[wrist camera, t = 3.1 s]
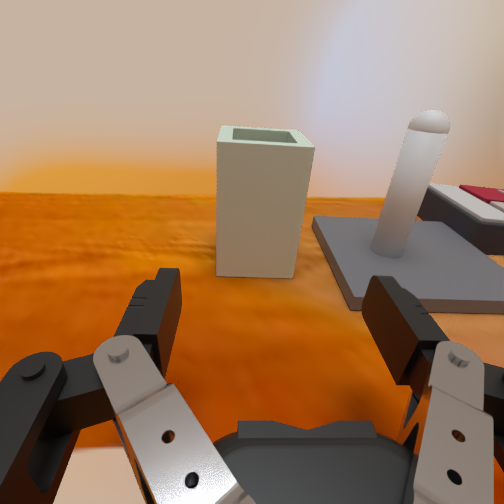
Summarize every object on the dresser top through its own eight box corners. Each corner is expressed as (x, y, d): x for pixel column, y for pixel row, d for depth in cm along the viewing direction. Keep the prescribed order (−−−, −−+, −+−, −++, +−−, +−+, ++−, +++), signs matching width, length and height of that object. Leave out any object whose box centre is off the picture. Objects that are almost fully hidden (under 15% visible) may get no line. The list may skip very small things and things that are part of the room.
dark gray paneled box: (632, 230, 28) (484, 215, 27) (599, 267, 30) (461, 255, 29) (534, 189, 38) (421, 177, 36) (515, 220, 40) (408, 210, 39)
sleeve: (216, 276, 23) (216, 141, 18) (220, 238, 28) (221, 125, 23) (292, 278, 24) (314, 147, 18) (283, 241, 29) (298, 130, 24)
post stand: (350, 310, 21) (410, 118, 14) (311, 226, 32) (336, 96, 26) (538, 314, 22) (673, 136, 15) (437, 231, 33) (491, 107, 26)
